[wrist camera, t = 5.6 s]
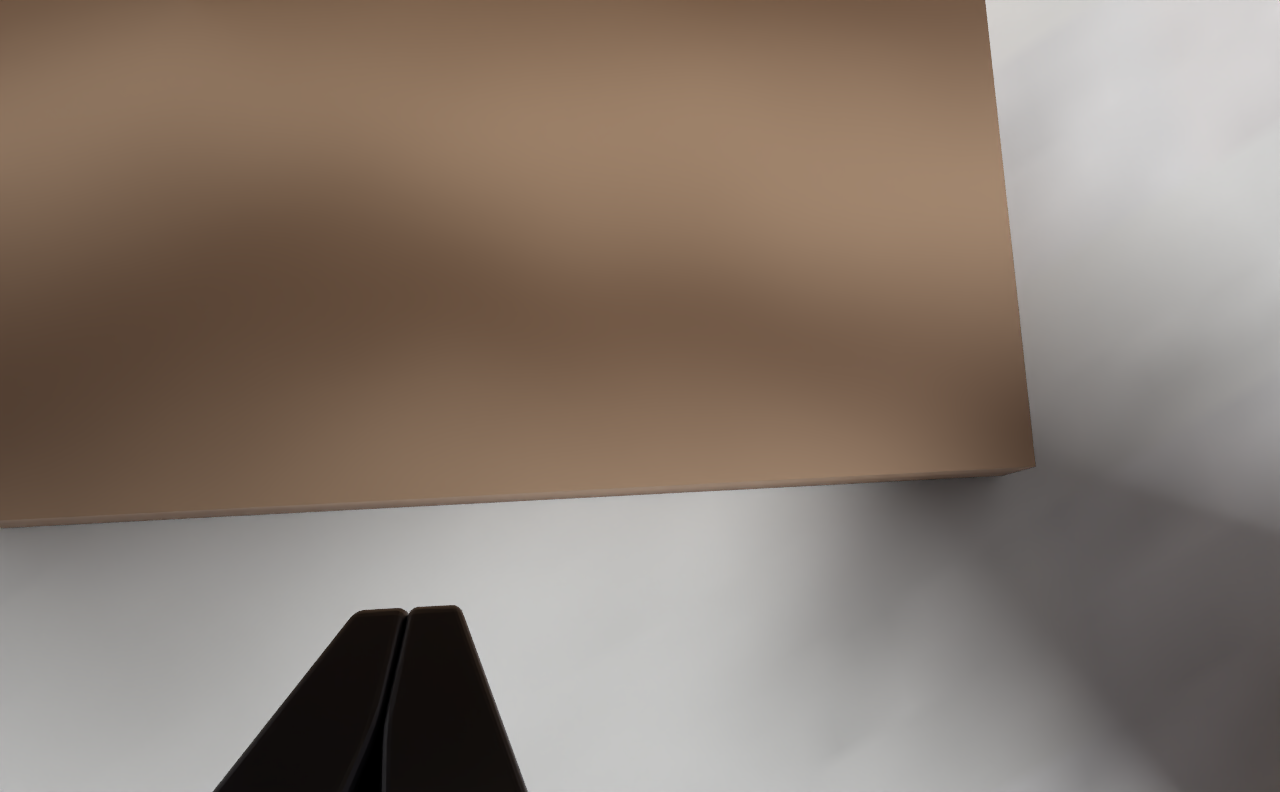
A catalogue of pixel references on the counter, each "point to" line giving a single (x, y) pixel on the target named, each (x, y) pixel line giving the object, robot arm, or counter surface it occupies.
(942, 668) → the counter surface
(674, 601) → the counter surface
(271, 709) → the counter surface
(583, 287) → the bracket
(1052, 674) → the counter surface
